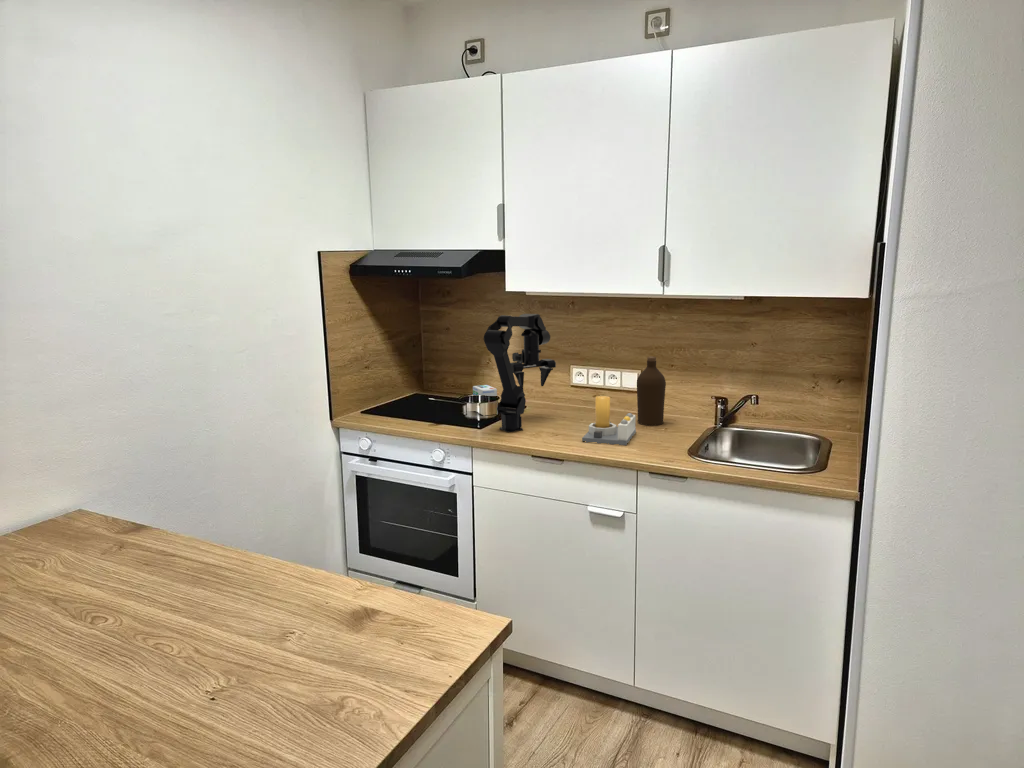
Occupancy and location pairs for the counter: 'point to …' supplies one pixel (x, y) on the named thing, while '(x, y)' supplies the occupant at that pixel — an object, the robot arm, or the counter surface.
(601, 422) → the cap
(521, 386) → the robot arm
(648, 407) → the olive oil
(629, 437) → the ball rail dock
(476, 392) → the light bulb box
